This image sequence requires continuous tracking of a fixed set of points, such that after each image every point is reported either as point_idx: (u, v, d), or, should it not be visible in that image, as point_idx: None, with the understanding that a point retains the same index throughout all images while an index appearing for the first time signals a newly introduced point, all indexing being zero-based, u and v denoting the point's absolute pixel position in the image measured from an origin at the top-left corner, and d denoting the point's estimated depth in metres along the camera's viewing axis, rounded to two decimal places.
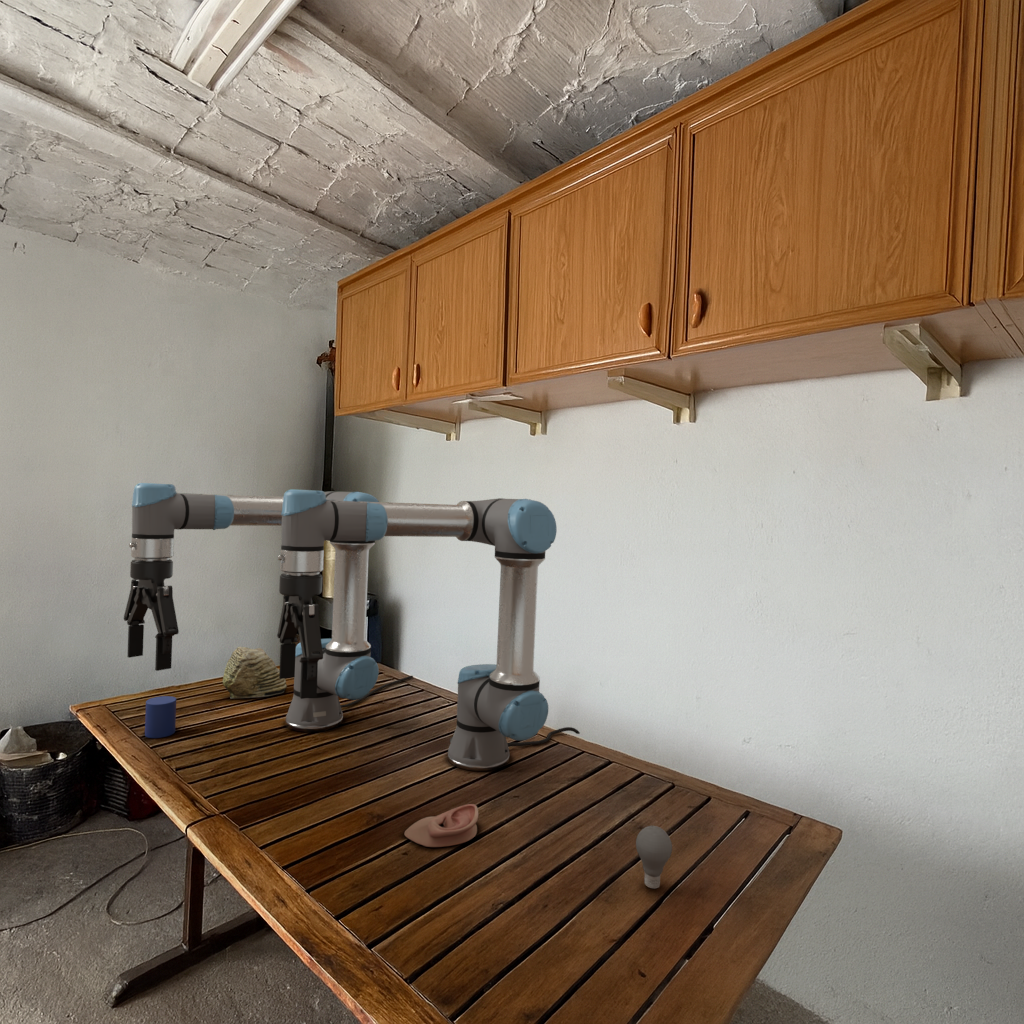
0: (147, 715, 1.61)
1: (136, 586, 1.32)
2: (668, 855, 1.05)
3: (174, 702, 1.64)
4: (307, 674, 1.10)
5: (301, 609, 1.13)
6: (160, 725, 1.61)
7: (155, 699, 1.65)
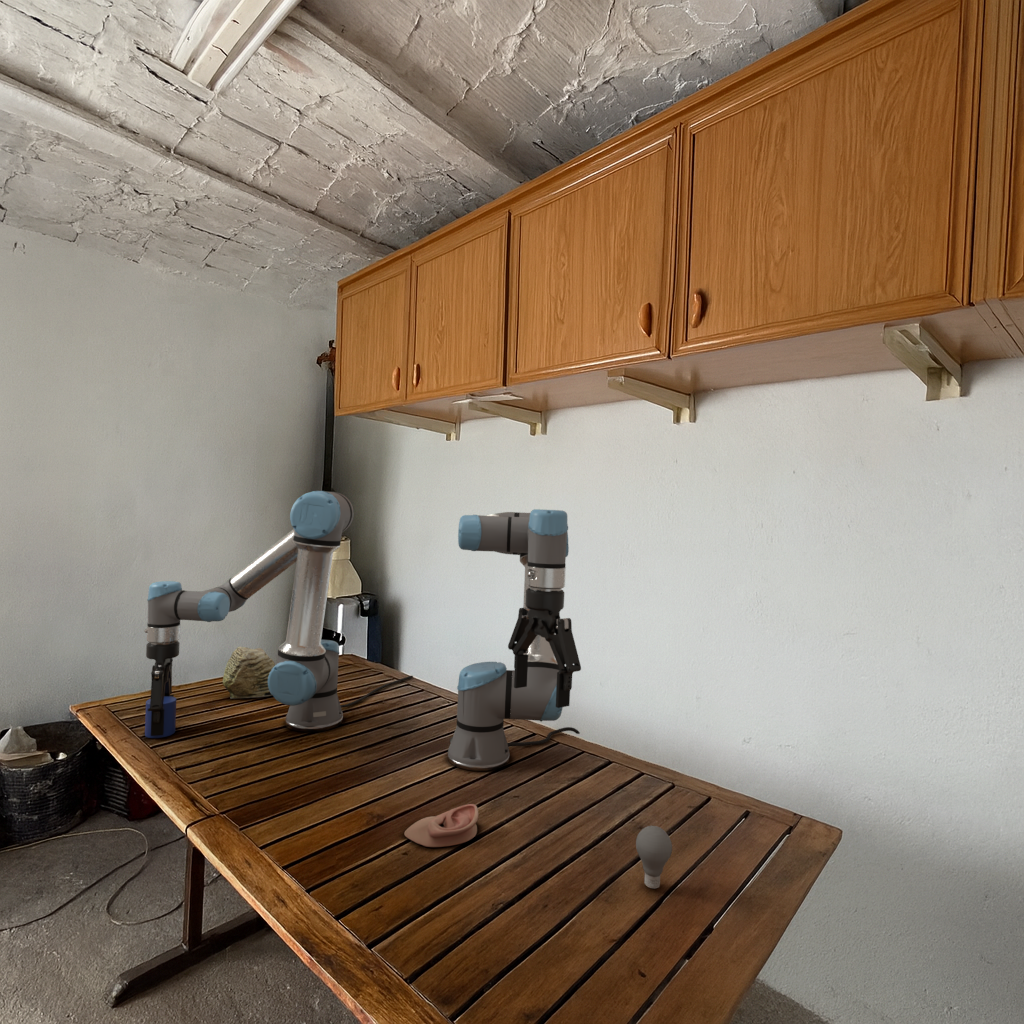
0: (147, 715, 1.61)
1: None
2: (668, 855, 1.05)
3: (174, 702, 1.64)
4: (565, 685, 1.17)
5: (552, 623, 1.20)
6: None
7: None
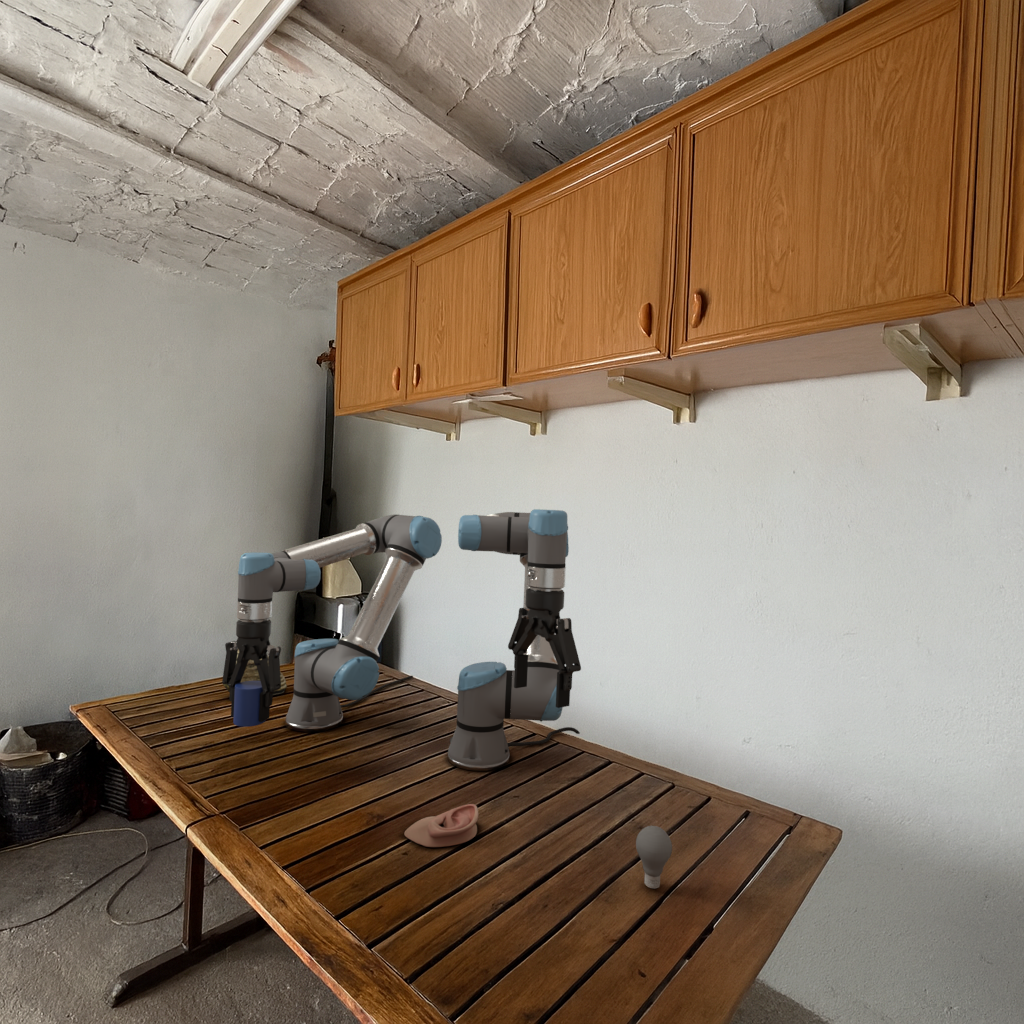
0: (250, 702, 1.44)
1: (232, 647, 1.48)
2: (668, 855, 1.05)
3: None
4: (565, 685, 1.17)
5: (552, 623, 1.20)
6: None
7: (243, 686, 1.46)
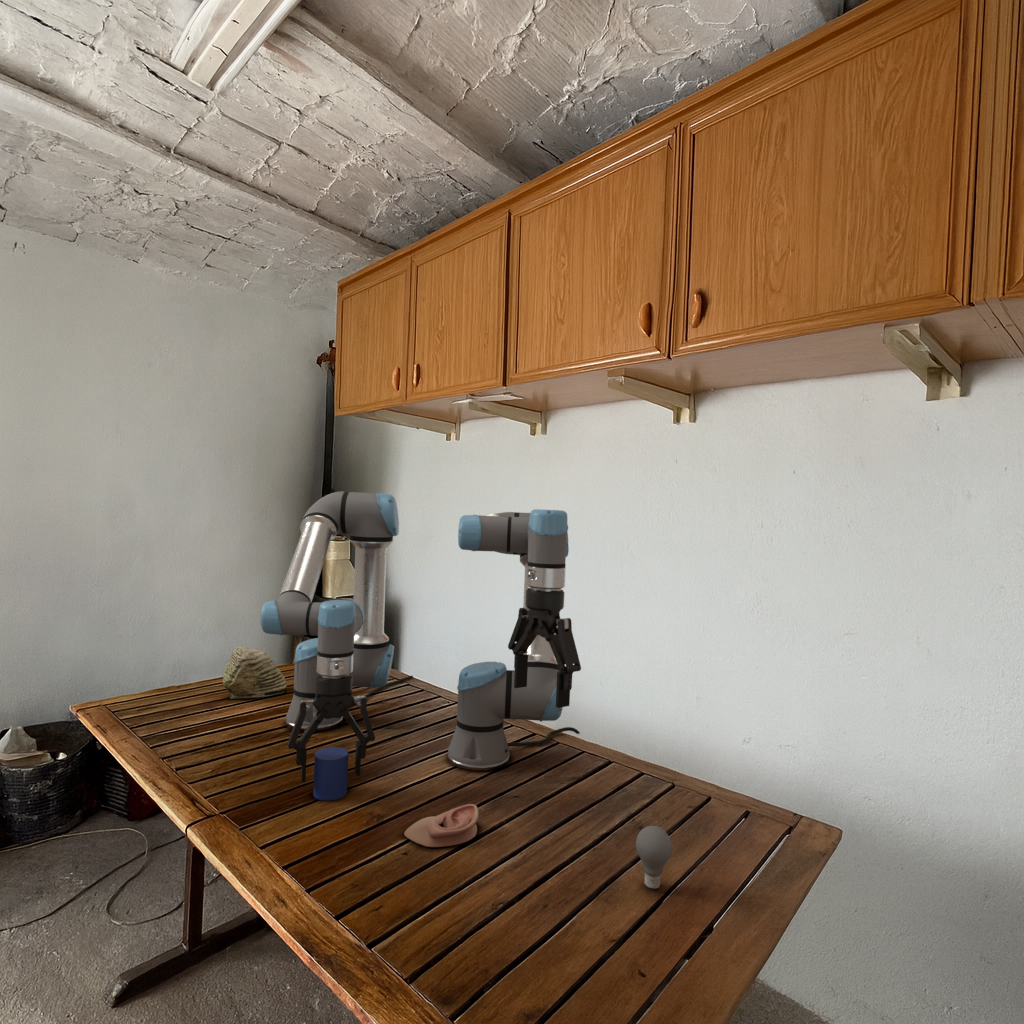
0: (343, 771, 1.34)
1: (307, 707, 1.33)
2: (668, 855, 1.05)
3: None
4: (565, 685, 1.17)
5: (552, 623, 1.20)
6: None
7: (327, 756, 1.34)
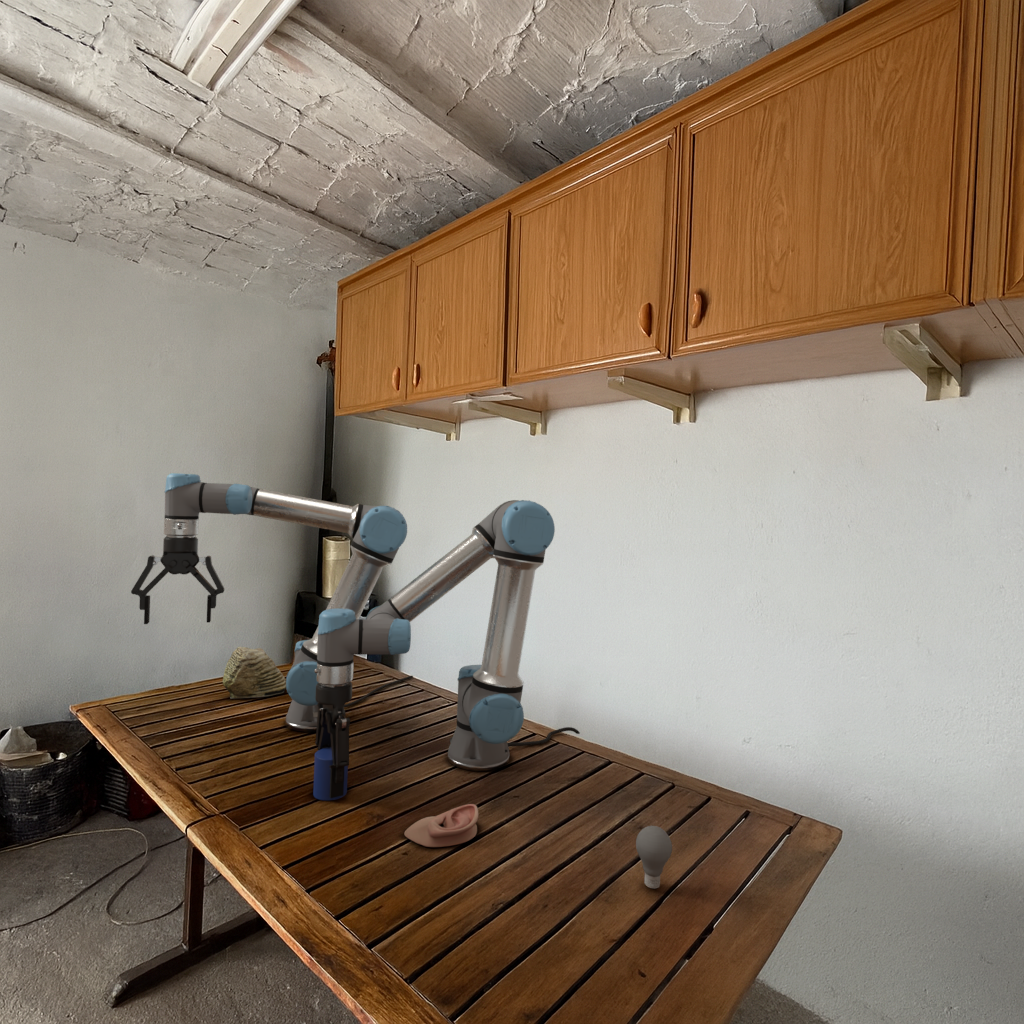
0: None
1: (154, 561, 1.53)
2: (668, 855, 1.05)
3: None
4: (336, 778, 1.31)
5: (335, 717, 1.32)
6: None
7: (327, 756, 1.34)
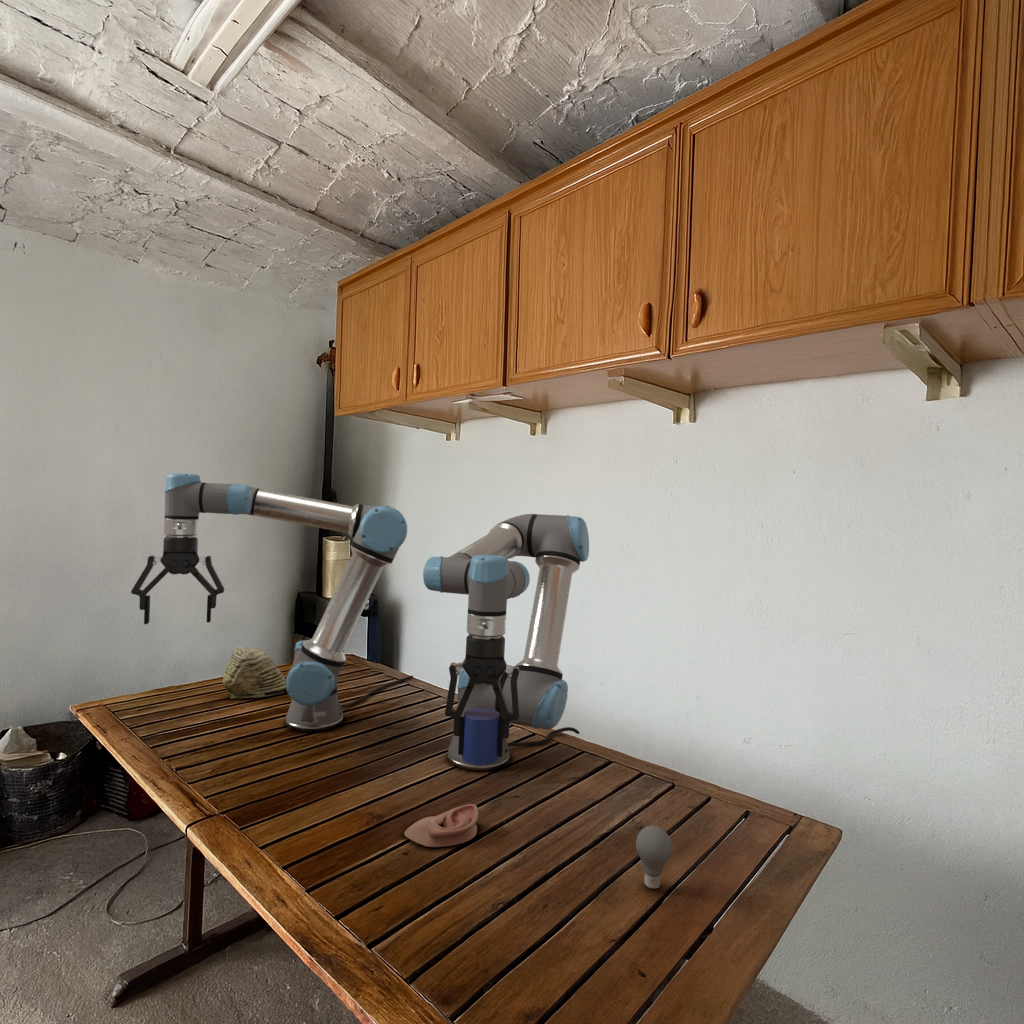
0: None
1: (154, 561, 1.53)
2: (668, 855, 1.05)
3: None
4: (508, 733, 1.22)
5: (503, 670, 1.22)
6: None
7: (488, 716, 1.21)
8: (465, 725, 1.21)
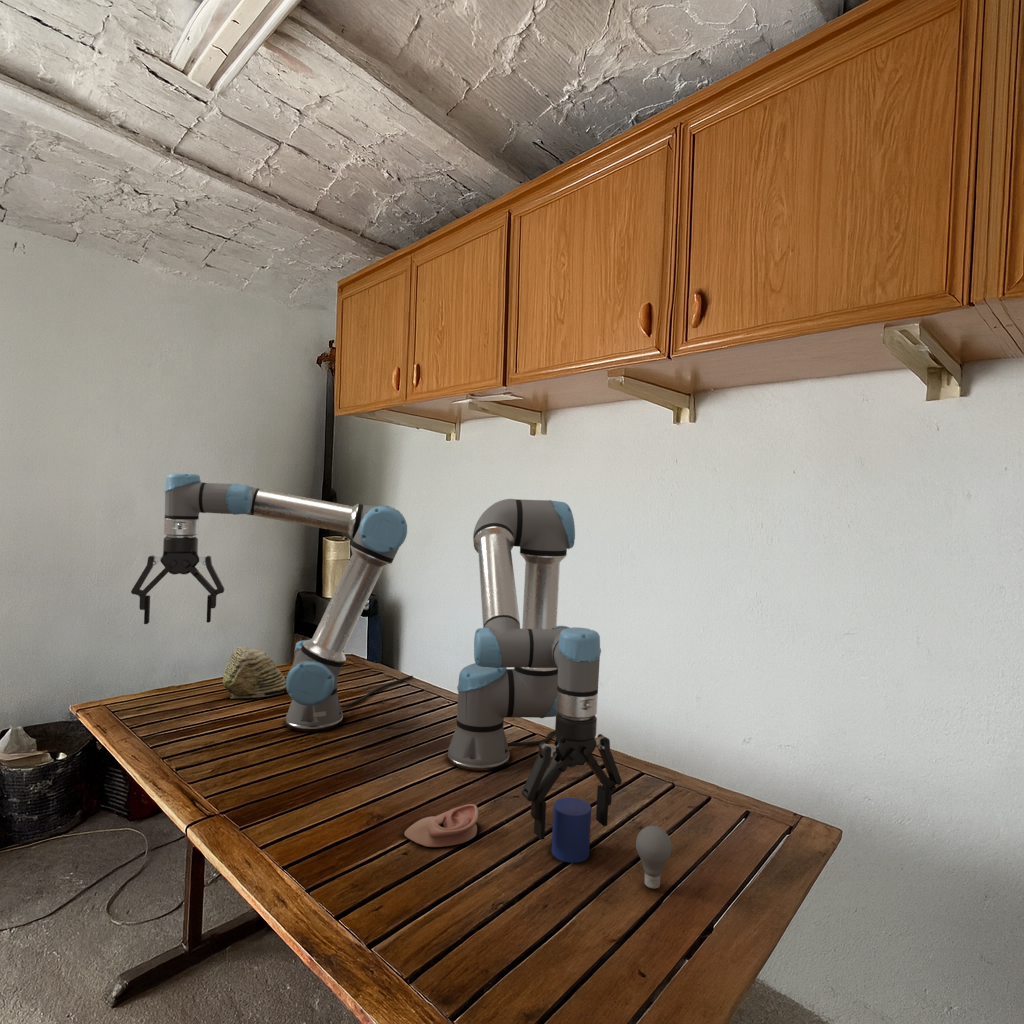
0: None
1: (154, 561, 1.53)
2: (668, 855, 1.05)
3: (553, 806, 1.17)
4: (610, 799, 1.19)
5: (595, 746, 1.17)
6: None
7: (581, 808, 1.16)
8: (562, 823, 1.14)
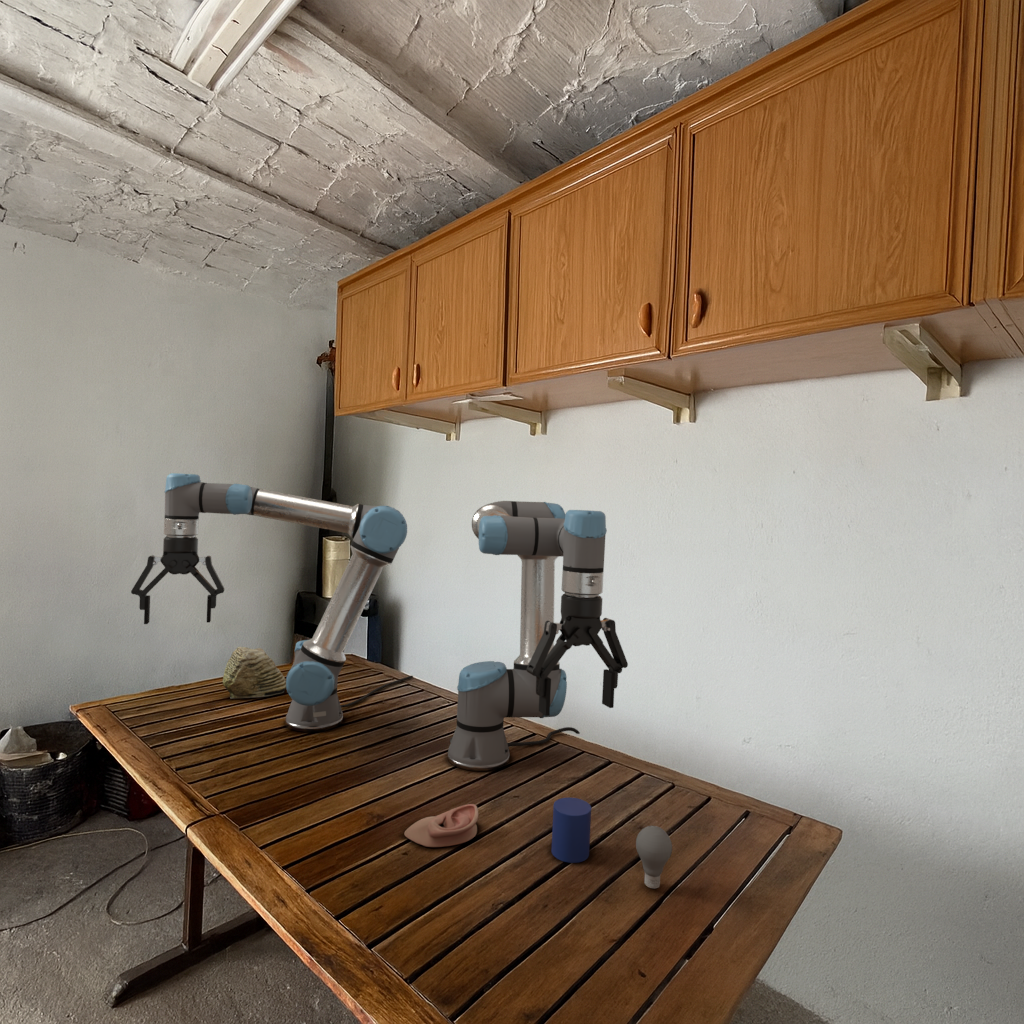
0: None
1: (154, 561, 1.53)
2: (668, 855, 1.05)
3: (553, 806, 1.17)
4: (616, 682, 1.19)
5: (601, 627, 1.17)
6: None
7: (581, 808, 1.16)
8: (562, 823, 1.14)
